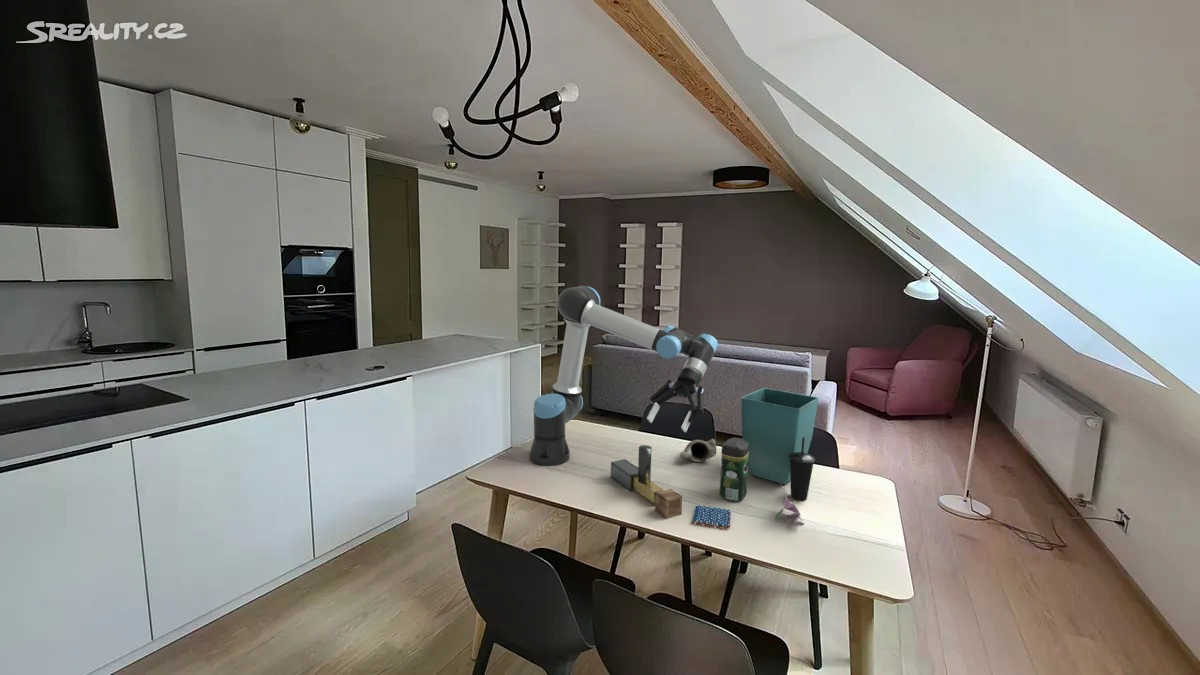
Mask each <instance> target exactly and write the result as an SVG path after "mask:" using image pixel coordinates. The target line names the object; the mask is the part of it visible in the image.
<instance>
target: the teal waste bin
mask: <svg viewBox="0 0 1200 675" xmlns="http://www.w3.org/2000/svg"><path fill="white" fill-rule="evenodd" d="M740 402H741V404H740V406H741V436H742V438H741V439H744V440H746V441H747V442H748V444H749V456H748V470H749V472H750V474H751V475H752V476H755V477H758V478H761V479H763V480H764V479H765V480H768V481H770V482H775V483H778V484H780V485H787V484H788V483H789V482H790V458H789V455H790V454H791V453H795V452H801V449H802V438H803V437H804V438H805V441H804V453H807V454H809V453H808V452H809V449H810V446H811V443H812V439H813V434H814V428H815V422H816V416H817V412H818V411H817V410H818V403H819V397H817V396H812V395H806V394H802V393H801V394H800V393H797V392H795V393H794V392H792V391H791V392H789V391H784V390H780V389H773V388H767V387H763V388H760V389H758V390H756V391H755V390H754V391H753V392H751V393H748V394H746V395H743V396H742V397H741V399H740Z"/></svg>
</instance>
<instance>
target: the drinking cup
mask: <svg viewBox="0 0 1200 675" xmlns="http://www.w3.org/2000/svg"><path fill="white" fill-rule="evenodd" d="M804 441H805V438H804V437H803V438H802V449H801V452H795V453H791V454H790V455H789V458H790V481H789V482H790V497H791V498H792V499H793V500H794V501H797V502H798V501H799V502H804V501H806V500H807V499H808V494H809V489H810V483H811V478H812V474H813V469H814V468H813V467H814V463H815V461H816V458H815V457H814V456H813V455H811V454H809V453H804Z"/></svg>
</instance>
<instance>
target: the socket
mask: <svg viewBox="0 0 1200 675" xmlns="http://www.w3.org/2000/svg"><path fill="white" fill-rule="evenodd" d="M682 509H683V495H681V494H680V493H678V491H675V490H674V489H672V488H667V489H664V490H663V491H660V492H656V500H655V503H654V511H655V512H657V513H658V514H660V515H661V516H662V518H664V519H666V520H667V519H671V518H674V517H677V516H680V515H681V516H682V511H683V510H682Z"/></svg>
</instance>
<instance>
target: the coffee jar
mask: <svg viewBox="0 0 1200 675" xmlns="http://www.w3.org/2000/svg"><path fill="white" fill-rule="evenodd" d="M748 456H749V444H748V442H747V441H746V440H744V439H743V438H740V437H732V438H729V439H727V440H725V441H724V442H723V444H722V445H721V465H720V466H721V467H720V468H721V469H720V479H719V482H720V483H719V496H720V497H721V498H722V499H724V500H726V501H729V502H741V501H742V500H744V499H745V497H747V494H748V473H749V472H748V470H749V467H748Z"/></svg>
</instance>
